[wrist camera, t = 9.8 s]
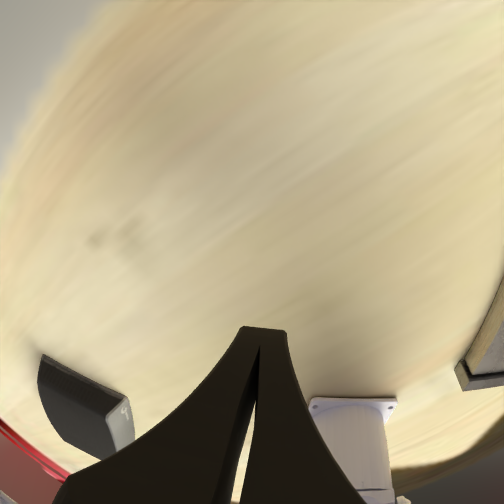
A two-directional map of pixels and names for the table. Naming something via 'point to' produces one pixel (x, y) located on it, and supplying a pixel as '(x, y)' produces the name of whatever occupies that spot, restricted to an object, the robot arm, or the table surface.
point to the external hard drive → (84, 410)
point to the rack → (486, 351)
